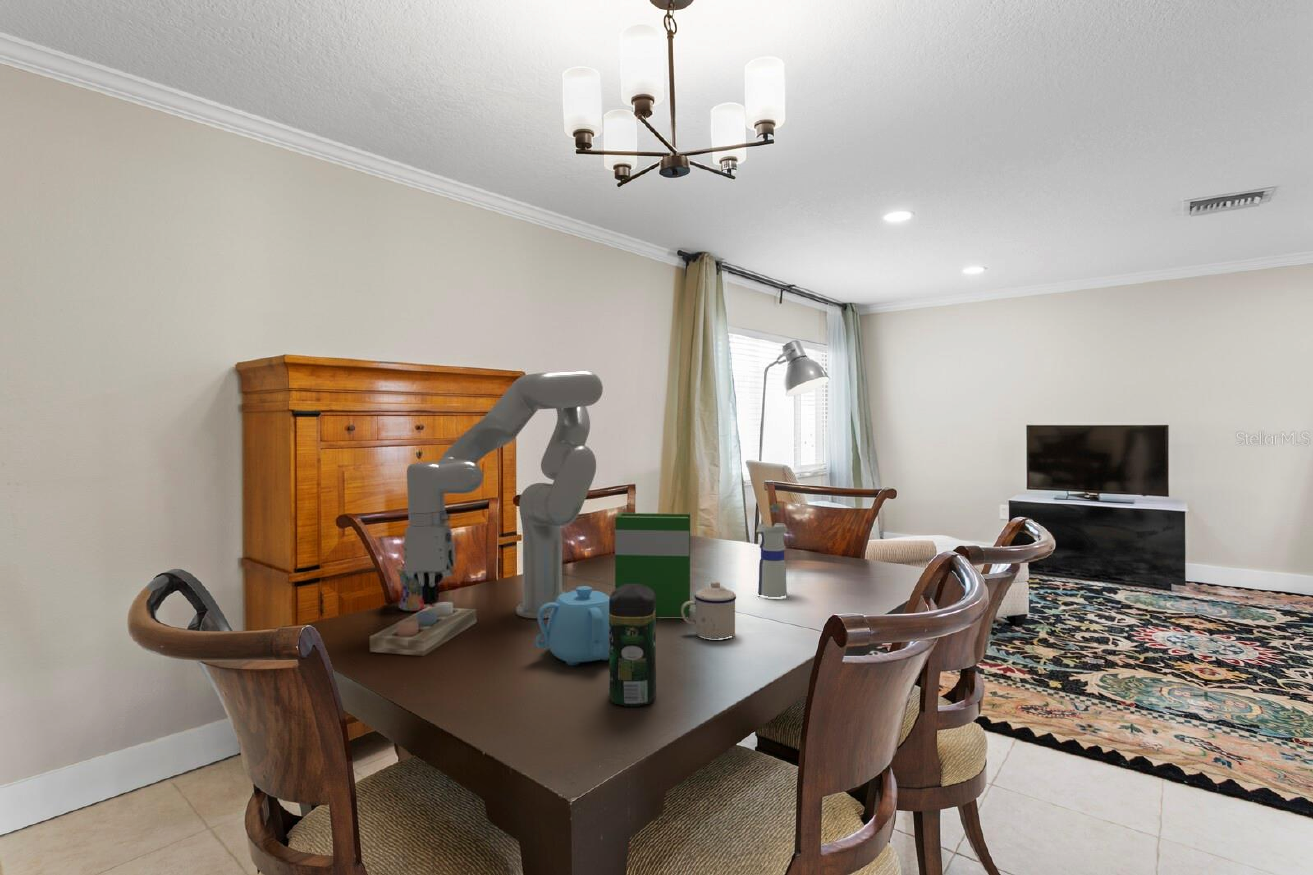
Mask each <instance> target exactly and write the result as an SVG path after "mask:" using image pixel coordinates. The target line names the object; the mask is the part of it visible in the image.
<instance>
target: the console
mask: <svg viewBox="0 0 1313 875" xmlns="http://www.w3.org/2000/svg"><path fill="white" fill-rule="evenodd" d="M422 611H434V606H432V607H430V606H429V607H427V608H425V609H423V610H419V611H417V612H416V613H414V614H412V615H410V616H408V617H406V618H404V619H402V620H400V621H398V622H396V623H394V624H392V625H390V626H389V627H386V628H384V629H382V630H381V631H379V632H376V633H375V634H372V635H370V636H369V652H370V653H371V652H373V653H384V654H395V655H398V654H399V655H406V656H407V655H409V656H419V657H424V656H426V655H428V654H429V653H430V652H432V651H434V650H435V649H438V647H440V646H441V645H443V644H445V643H446V642H448V641H450V640H451V639H453V638H455V636H457V635H459V634H460V633H462V632H463V631H465V630H467V629H468V628H470V627H472V626H473V625H474V624H476V623H477V609H474V608H459V607H458V608H457V607H453V614H452V615H450V616H449V617H444V616H436V618H437V623H436V624H434V625H433V626H418V634H417V635H415V636H413V637H402V636H398V623H399V622H402V621H406V620H416V621H417V613H419V612H422Z"/></svg>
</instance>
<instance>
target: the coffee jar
mask: <svg viewBox="0 0 1313 875" xmlns="http://www.w3.org/2000/svg"><path fill="white" fill-rule="evenodd" d="M609 597H610V599H609V660H608V661H609V664H608V665H609V699H610V701H611V702H612V703H614V704H616V705H619V706H623V707H627V706H631V707H630V708H632V706H637V707H639V706H645V705H650V704H651V703H652V702H653V700H654V699H655V696H656V693H657V665H656V664H657V663H656V661H657V660H656V659H657V658H656V655H657V652H656V649H657V646H656V644H657V643H656V642H657V641H656V638H657V636H656V624H657V623H656V620H657V618H656V614H655V597H656V596H655V593H654V591H653V590H652V589H650V588H649V587H647V586H646V585H645V584H623V585H622V586H620V587H619V588H617V589H615V588H614V590H613V591H612V592H611V594H610V595H609Z"/></svg>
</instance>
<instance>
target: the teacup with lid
mask: <svg viewBox="0 0 1313 875" xmlns="http://www.w3.org/2000/svg"><path fill="white" fill-rule="evenodd" d="M694 599H695V600H690V601H688V602H685V603H684V604H683V605H682V608H681V614H682V617H683V619H682V620H684V621H685V622H686V624H690V625H694V626H695V628H694V629H695V632H696V633H695V635H696V634H697V635H698V636H702V637H705V638H711V639H719V638H726V637H729V636H733V635H734V634H735V635H736V599H737V596H736V592H734V591H732V590H730V589H727V588H725V587H724V586H723V585H722V586H721V583H720V581H716V580H715V581H714V580H713V581H711V582H710V585H708V586H706V587H705V588H701V589H698V590H697V591H695V594H694ZM688 605H690V606H695V617H694V618H695V620H693V619H690V618H689V619H688V618H687V617H686V615H685V613H684V609H685V607H686V606H688ZM697 635H696V636H697ZM735 635H734V636H735ZM698 636H697V637H698Z"/></svg>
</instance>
